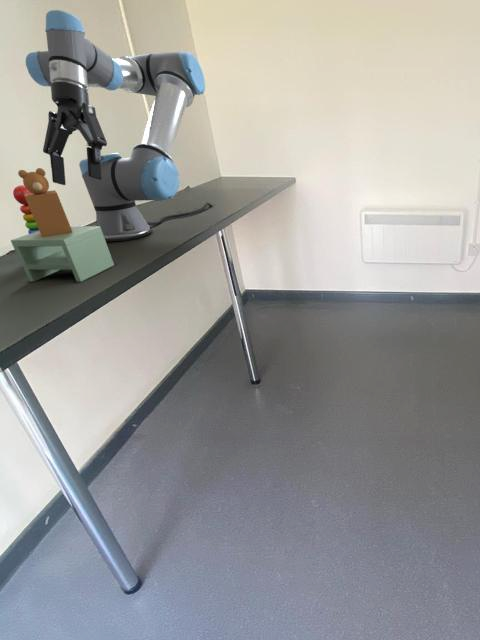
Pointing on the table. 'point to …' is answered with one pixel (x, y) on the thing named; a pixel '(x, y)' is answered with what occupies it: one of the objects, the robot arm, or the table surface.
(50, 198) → the plush bear
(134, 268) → the table surface
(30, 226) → the stacking toy
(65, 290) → the table surface
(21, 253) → the pale green square stand
